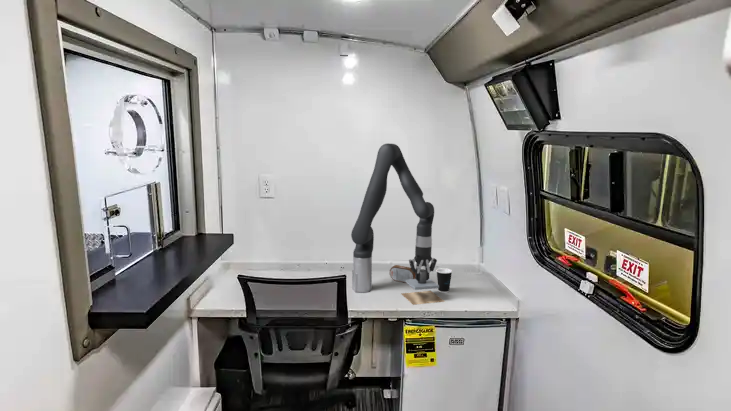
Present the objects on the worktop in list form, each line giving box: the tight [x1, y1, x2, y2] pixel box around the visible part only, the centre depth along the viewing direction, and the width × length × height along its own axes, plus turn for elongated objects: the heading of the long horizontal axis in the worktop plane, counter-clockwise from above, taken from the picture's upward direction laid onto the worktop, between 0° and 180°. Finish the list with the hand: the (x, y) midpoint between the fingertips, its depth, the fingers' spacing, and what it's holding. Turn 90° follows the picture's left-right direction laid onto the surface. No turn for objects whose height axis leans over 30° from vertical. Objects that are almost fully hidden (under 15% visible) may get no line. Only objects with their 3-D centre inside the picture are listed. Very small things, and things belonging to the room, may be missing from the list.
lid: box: [405, 268, 439, 291], centre depth 221 cm, size 12×12×7 cm
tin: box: [389, 264, 415, 284], centre depth 247 cm, size 15×3×8 cm, turn 58°
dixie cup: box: [435, 267, 453, 294], centre depth 231 cm, size 8×8×11 cm
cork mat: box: [400, 290, 446, 306], centre depth 222 cm, size 16×16×1 cm
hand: (422, 280), depth 221 cm, fingers closed on lid, 4 cm apart
